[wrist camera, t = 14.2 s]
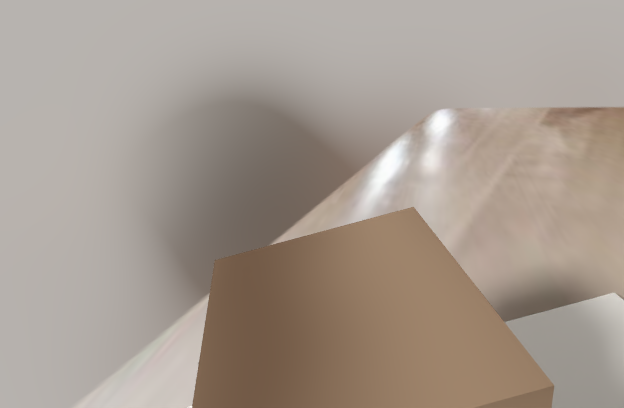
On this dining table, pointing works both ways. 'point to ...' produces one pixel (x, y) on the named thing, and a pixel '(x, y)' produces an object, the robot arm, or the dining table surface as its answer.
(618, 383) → the board
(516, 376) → the block
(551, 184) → the dining table surface
